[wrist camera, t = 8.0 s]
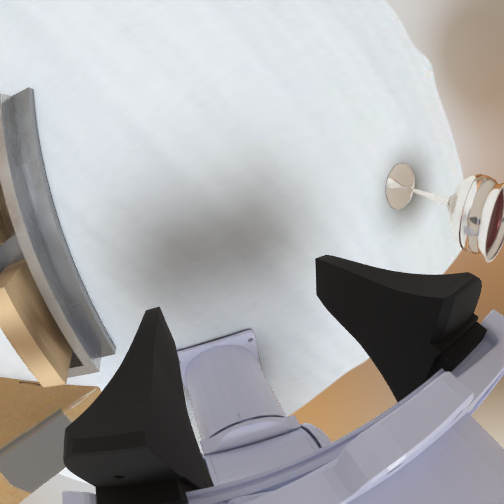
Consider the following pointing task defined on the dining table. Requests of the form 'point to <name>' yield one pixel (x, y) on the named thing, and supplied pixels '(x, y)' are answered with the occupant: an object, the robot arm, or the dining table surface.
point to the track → (43, 235)
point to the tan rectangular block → (32, 326)
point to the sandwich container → (35, 432)
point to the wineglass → (460, 209)
